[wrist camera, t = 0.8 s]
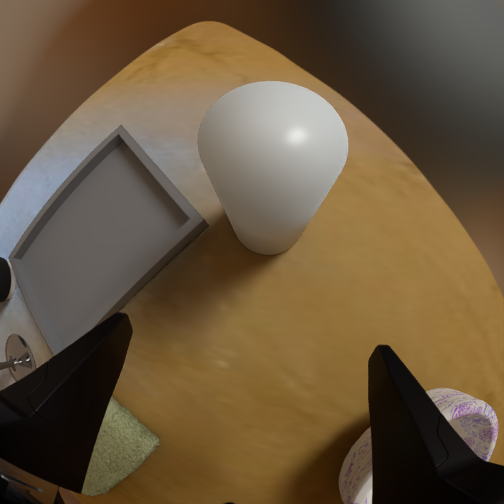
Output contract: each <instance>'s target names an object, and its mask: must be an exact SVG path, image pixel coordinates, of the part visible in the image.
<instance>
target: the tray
mask: <svg viewBox="0 0 504 504" xmlns="http://www.w3.org/2000/svg"><path fill="white" fill-rule="evenodd" d="M208 226H209V225H208V223H207V222H206V221H205V219H204V218H203V217H202V216H201V215H200V214H199V213H198V212H197V210H196V209H195V208H194V207H193V206H192V205H191V204H190V203H189V202H188V200H187V199H186V198H185V197H184V196H183V195H182V194H181V192H180V191H179V190H178V189H177V188H176V187H175V186H174V185H173V183H172V182H171V181H170V180H169V179H168V178H167V177H166V175H165V174H164V173H163V172H162V171H161V170H160V169H159V167H158V166H157V165H156V164H155V163H154V162H153V161H152V159H151V158H150V157H149V156H148V155H147V154H146V153H145V151H144V150H143V149H142V148H141V147H140V146H139V145H138V143H137V142H136V141H135V140H134V139H133V138H132V136H131V135H130V134H129V133H128V132H127V131H126V130H125V128H124V127H123V126H122V125H120V126H119V127H118V128H117V129H116V130H115V131H113V132H112V133H111V134H110V135H109V136H108V137H107V138H106V139H105V140H104V141H103V142H102V143H101V144H99V145H98V146H97V147H96V148H95V149H94V150H93V151H92V152H91V153H90V154H89V155H88V156H87V157H86V158H85V159H84V160H83V161H82V163H81V164H80V165H79V166H78V167H77V168H76V169H75V170H74V171H73V172H72V173H71V174H70V175H69V177H68V178H67V179H66V180H65V181H64V182H63V183H62V185H61V186H60V187H59V188H58V189H57V190H56V192H55V193H54V194H53V195H52V196H51V198H50V199H49V200H48V201H47V203H46V204H45V205H44V207H43V208H42V209H41V210H40V212H39V213H38V214H37V216H36V217H35V218H34V220H33V221H32V223H31V224H30V225H29V227H28V228H27V230H26V231H25V232H24V234H23V235H22V237H21V238H20V240H19V241H18V243H17V244H16V246H15V248H14V249H13V251H12V252H11V254H10V256H9V257H8V258H9V261H10V264H11V266H12V269H13V272H14V274H15V277H16V280H17V282H18V285H19V287H20V289H21V292H22V294H23V296H24V299H25V301H26V303H27V305H28V307H29V310H30V312H31V314H32V316H33V318H34V320H35V322H36V324H37V326H38V328H39V329H40V331H41V333H42V335H43V337H44V339H45V341H46V342H47V344H48V346H49V348H50V349H51V351H52V353H53V354H54V356H55V355H56V354H58V353H59V352H61V351H62V350H63V349H65V348H66V347H67V346H69V345H70V344H72V343H73V342H74V341H76V340H77V339H79V338H80V337H81V336H83V335H84V334H86V333H87V332H88V331H90V330H91V329H93V328H94V327H96V326H97V325H98V324H100V323H101V322H103V321H104V320H106V319H107V318H108V317H110V316H111V315H113V314H114V313H116V312H118V311H119V310H120V309H121V308H122V307H123V306H124V305H125V304H126V303H127V302H128V301H129V300H130V299H131V298H132V297H133V296H134V295H135V294H136V293H137V292H138V291H139V290H140V289H141V288H143V287H144V286H145V285H146V284H147V283H148V282H149V281H150V280H151V279H152V278H153V277H154V276H155V275H156V274H157V273H158V272H159V271H160V270H161V269H162V268H163V267H164V266H165V265H166V264H168V263H169V262H170V261H171V260H172V259H173V258H174V257H175V256H176V255H177V254H178V253H179V252H180V251H181V250H183V249H184V248H185V247H186V246H187V245H188V244H189V243H190V242H191V241H192V240H193V239H195V238H196V237H197V236H198V235H199V234H200V233H201V232H202V231H203V230H204V229H206V228H207V227H208Z"/></svg>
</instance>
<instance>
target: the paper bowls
mask: <svg viewBox="0 0 504 504" xmlns="http://www.w3.org/2000/svg"><path fill="white" fill-rule="evenodd" d="M426 393H427V394H428V395H429V397H430V398H431V399H432V401H433V402H434V403H435V405H436V406H437V407H438V409H439V410H440V413H442V414H443V415H444V417H445V418H446V419H447V421H448V422H449V423H450V425H451V426H452V427H453V428H454V430H455V431H456V432H457V433H458V434H459V436H460V437H461V438H462V439H463V440H464V441H465V442H466V443H467V445H468V446H469V447H470V448H471V449H472V450H473V451H474V452H475V454H476V455H477V456H479V457H480V458H481V459H483V460H485V461H487V462H488V461H489V459H490V456H491V454H492V452H493V449H494V447H495V444H496V440H497V435H498V421H497V417H496V414H495V412H494V410H493V409H492V408H491V407H490V406H489V405H488V404H487V403H486V402H484V401H482V400H479V399H476V398H474V397H472V396H470V395H467V394H465V393H462V392H460V391H457V390H453V389H447V388H437V389H432V390H429V391H426ZM339 491H340V494H341V498H342V501H343V503H344V504H372V446H371V428H370V427H369V428H368V429H367V430H366V431H365V432H364V433H363V434H362V435H361V437H360V438H359V439H358V440H357V441H356V442H355V444H354V445H353V446H352V447H351V449H350V451H349V453H348V454H347V456H346V458H345V460H344V462H343V465H342V469H341V472H340V476H339Z"/></svg>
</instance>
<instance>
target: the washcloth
mask: <svg viewBox="0 0 504 504" xmlns="http://www.w3.org/2000/svg"><path fill="white" fill-rule="evenodd" d="M157 445H159V437H157V436H156V435H155V434H153V433H151V431H150V430H149V429H148V428H146V427H145V426H144V425H143V424H142V423H140V422H139V421H138V420H137V418H135V416H133V415H132V414H131V413H130V411H129V410H128V409H127V408H126V407H124V406H123V407H122V406H121V405H120V404H119V403H118V402H117V400H115V398H114V397H113V396H112V397H111V399H110V402H109V405H108V408H107V410H106V413H105V416H104V419H103V422H102V425H101V428H100V431H99V434H98V437H97V440H96V443H95V446H94V449H93V453H92V456H91V460H90V463H89V467H88V470H87V474H86V477H85V481H84V485H83V489H82V493H83V494H85V495H89V496H91V497H93V496H96V495H98V494H100V493H102V494H105V493H106V492H109V489H110V488H113V487H114V486H115V484H118V482H120V481H121V480H122V479H123V478H125V477H126V476H127V475H129V473H132V472H134V471H135V469H137V468H139V466H140V464H142V463H143V462H144V461H145V460H146V458H147V457H149V454H150V453H152V452H153V451H154V450H155V449H156V446H157Z"/></svg>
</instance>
